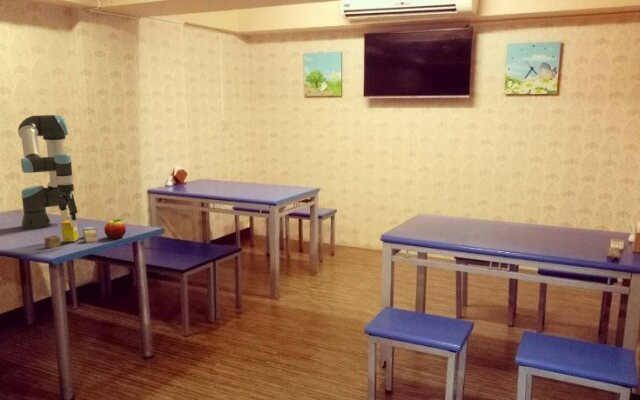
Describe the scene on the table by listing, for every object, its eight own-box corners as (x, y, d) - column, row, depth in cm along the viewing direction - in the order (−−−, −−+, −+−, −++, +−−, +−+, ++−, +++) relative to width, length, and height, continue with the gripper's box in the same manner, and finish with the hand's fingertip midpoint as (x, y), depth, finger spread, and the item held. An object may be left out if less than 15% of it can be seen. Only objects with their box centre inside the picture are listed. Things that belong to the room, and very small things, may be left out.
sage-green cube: (83, 237, 281) (82, 228, 280) (89, 235, 285) (88, 226, 284) (91, 238, 279) (90, 229, 278) (97, 235, 284) (96, 227, 283)
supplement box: (67, 240, 275) (65, 219, 273) (79, 239, 276) (77, 219, 274) (62, 243, 269) (60, 222, 267) (74, 242, 270) (72, 222, 268)
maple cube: (84, 240, 274) (84, 231, 274) (95, 239, 277) (94, 230, 276) (86, 242, 270) (85, 233, 269) (97, 241, 273) (96, 231, 272)
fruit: (102, 237, 281) (100, 219, 279) (123, 234, 287) (121, 216, 285) (108, 241, 272) (106, 222, 271) (129, 237, 279) (127, 219, 277)
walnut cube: (45, 247, 262) (44, 237, 261) (54, 245, 266) (53, 235, 265) (51, 248, 260) (50, 238, 259) (60, 246, 264) (59, 236, 263)
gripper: (49, 182, 273) (53, 222, 277) (65, 187, 256) (70, 229, 259) (64, 181, 278) (68, 219, 282) (81, 185, 261) (85, 226, 264)
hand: (69, 224), depth 271 cm, fingers open, 13 cm apart
